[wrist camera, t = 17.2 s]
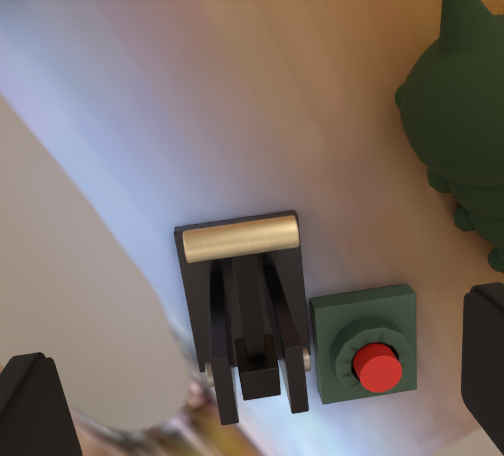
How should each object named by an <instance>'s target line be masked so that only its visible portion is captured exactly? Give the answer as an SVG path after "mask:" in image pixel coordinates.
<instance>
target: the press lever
mask: <svg viewBox="0 0 504 456" xmlns="http://www.w3.org/2000/svg"><path fill="white" fill-rule="evenodd" d="M183 244H184V251H185V256H186V260H187V262H188V263H193V262H199V261H206V260H213V259H220V258H227V257H231V258H232V264H233V271H234V277H235V284H236V290H237V297H238V303H239V310H240V317H241V323H242V330H243V336H244V338H237V339H235V345H236V354H237V362H238V371H239V377H240V383H241V388H242V394H243V400H244V401H246V400H252V399H258V398H264V397H270V396H277V395H281V390H280V378H279V367H278V362H277V356H276V351H275V346H274V341H273V336H272V333H270V334H264V327H263V317H262V308H261V298H260V289H259V279H258V270H257V261H256V253H261V252H268V251H274V250H281V249H288V248H295V247H298V246H299V231H298V225H297V221H296V218H295V216H293V215H291V216H284V217H277V218H271V219H264V220H257V221H250V222H243V223H236V224H229V225H222V226H215V227H208V228H201V229H194V230H187V231H184V232H183Z"/></svg>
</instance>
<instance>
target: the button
mask: <svg viewBox="0 0 504 456" xmlns="http://www.w3.org/2000/svg"><path fill="white" fill-rule="evenodd" d="M353 365H354V369H355V371H356V373H357V375H358V377H359V380H360V382H361V384H362V385H363V386H364V387H365V388H366V389H367V390H369V391H372V392H384V391H387V390H390V389H391V388H393V387H394V386H395V385H396V384H397V383H398V382H399V380H400V378H401V376H402V367H401V364H400V363H399V361H398V360H397V358H396V357H395V355H394V353H393V352H392V350H391V349H390V348H389V347H388V346H386V345H384V344H381V343H372V344H368V345H366V346H364V347H362V348H361V349H360V350H359V351H358V352H357V354H356V355H355V357H354V362H353Z"/></svg>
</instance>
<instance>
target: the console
mask: <svg viewBox="0 0 504 456" xmlns="http://www.w3.org/2000/svg"><path fill="white" fill-rule="evenodd" d="M310 307H311V318H312V329H313V340H314V351H315V362H316V373H317V384H318V392H319V395H320V398H321V401H322V404H329V403H335V402H341V401H347V400H354V399H360V398H366V397H373V396H379V395H385V394H391V393H397V392H403V391H409V390H415V389H417V358H416V293H415V292H414V291H413V290H412V289H411V288H410V286H409V285H408V284H401V285H395V286H388V287H381V288H375V289H368V290H362V291H355V292H348V293H342V294H335V295H329V296H322V297H316V298H310ZM372 343H381V344H384V345H386V346H388V347H389V348H390V349H391V350H392V352H393V353H394V355H395V357H396V358H397V360H398V361H399V363H400V364H401V367H402V376H401V378H400V380H399V382H398V383H397V384H396V385H395V386H394V387H393V388H391V389H390V390H387V391H384V392H372V391H369V390H367V389H366V388H365V387H364V386H363V385H362V384H361V382H360V380H359V377H358V375H357V373H356V371H355V369H354V365H353V362H354V357H355V355H356V354H357V352H358V351H359V350H360V349H361V348H362V347H364V346H366V345H368V344H372Z"/></svg>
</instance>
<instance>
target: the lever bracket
mask: <svg viewBox="0 0 504 456" xmlns="http://www.w3.org/2000/svg"><path fill="white" fill-rule="evenodd" d="M291 215H293V216H295V218H296V221H297V225H298V231H299V224H298V215H297V213H296V212H295V210H292V211H285V212H278V213H271V214H264V215H257V216H250V217H243V218H236V219H229V220H222V221H215V222H208V223H201V224H194V225H187V226H180V227H175V230H174V237H175V242H176V247H177V253H178V258H179V263H180V268H181V274H182V279H183V284H184V290H185V295H186V300H187V306H188V311H189V316H190V322H191V327H192V332H193V338H194V343H195V348H196V353H197V359H198V364H199V369H200V372H205V373H206V380H207V385H208V387H215V392H216V397H217V403H218V409H219V414H220V420H221V425H228V424H234V423H239V416H238V404H237V393H236V381H235V369H234V367H238V362H237V354H236V345H235V339H237V338H244V336H243V330H242V323H241V317H240V310H239V303H238V297H237V290H236V284H235V277H234V271H233V264H232V258H231V257H227V258H220V259H213V260H206V261H199V262H193V263H188V262H187V260H186V256H185V251H184V244H183V232H184V231H187V230H194V229H201V228H208V227H215V226H222V225H229V224H236V223H243V222H250V221H257V220H264V219H271V218H277V217H284V216H291ZM256 261H257V270H258V279H259V289H260V298H261V308H262V317H263V327H264V334H270V333H272V336H273V341H274V346H275V351H276V356H277V360H279V363H280V367H281V371H282V375H283V379H284V383H285V387H286V392H287V396H288V400H289V404H290V408H291V412H292V414H294V413H301V412H307V411H309V406H308V396H307V386H306V376H305V372H309V371H311V364H310V357H309V355H311V352H310V341H309V330H308V320H307V309H306V299H305V288H304V277H303V267H302V256H301V246H300V235H299V246H298V247H295V248H288V249H281V250H274V251H268V252H261V253H256Z"/></svg>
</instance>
